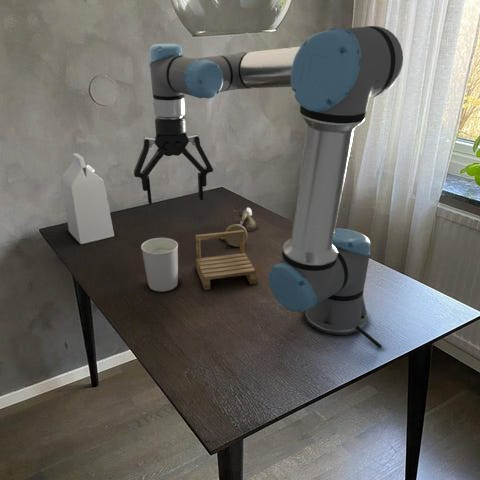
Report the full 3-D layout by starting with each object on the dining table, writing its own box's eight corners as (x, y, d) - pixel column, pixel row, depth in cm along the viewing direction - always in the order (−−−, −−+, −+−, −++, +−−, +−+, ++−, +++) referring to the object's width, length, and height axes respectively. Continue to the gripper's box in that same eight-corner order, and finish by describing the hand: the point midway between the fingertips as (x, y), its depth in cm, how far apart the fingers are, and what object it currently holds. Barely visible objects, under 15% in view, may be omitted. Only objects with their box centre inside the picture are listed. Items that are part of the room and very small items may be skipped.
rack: (255, 283, 143) (256, 248, 137) (204, 290, 140) (203, 254, 134) (243, 262, 154) (244, 229, 148) (196, 268, 151) (194, 234, 145)
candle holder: (139, 289, 140) (134, 250, 134) (155, 273, 148) (151, 235, 141) (171, 295, 138) (168, 255, 131) (186, 278, 145) (183, 240, 139)
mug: (243, 234, 171) (251, 215, 163) (240, 257, 166) (248, 239, 158) (221, 229, 170) (228, 210, 161) (218, 252, 165) (225, 234, 157)
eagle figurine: (227, 220, 178) (237, 224, 170) (236, 201, 177) (246, 205, 169) (245, 229, 182) (255, 234, 174) (254, 210, 181) (264, 215, 173)
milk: (68, 231, 172) (53, 153, 158) (101, 224, 178) (89, 148, 163) (80, 244, 164) (65, 163, 150) (114, 236, 169) (103, 157, 155)
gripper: (217, 110, 129) (218, 191, 141) (117, 115, 124) (127, 198, 136) (223, 117, 123) (224, 201, 135) (118, 122, 118) (128, 209, 130)
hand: (175, 200), depth 135 cm, fingers open, 13 cm apart
